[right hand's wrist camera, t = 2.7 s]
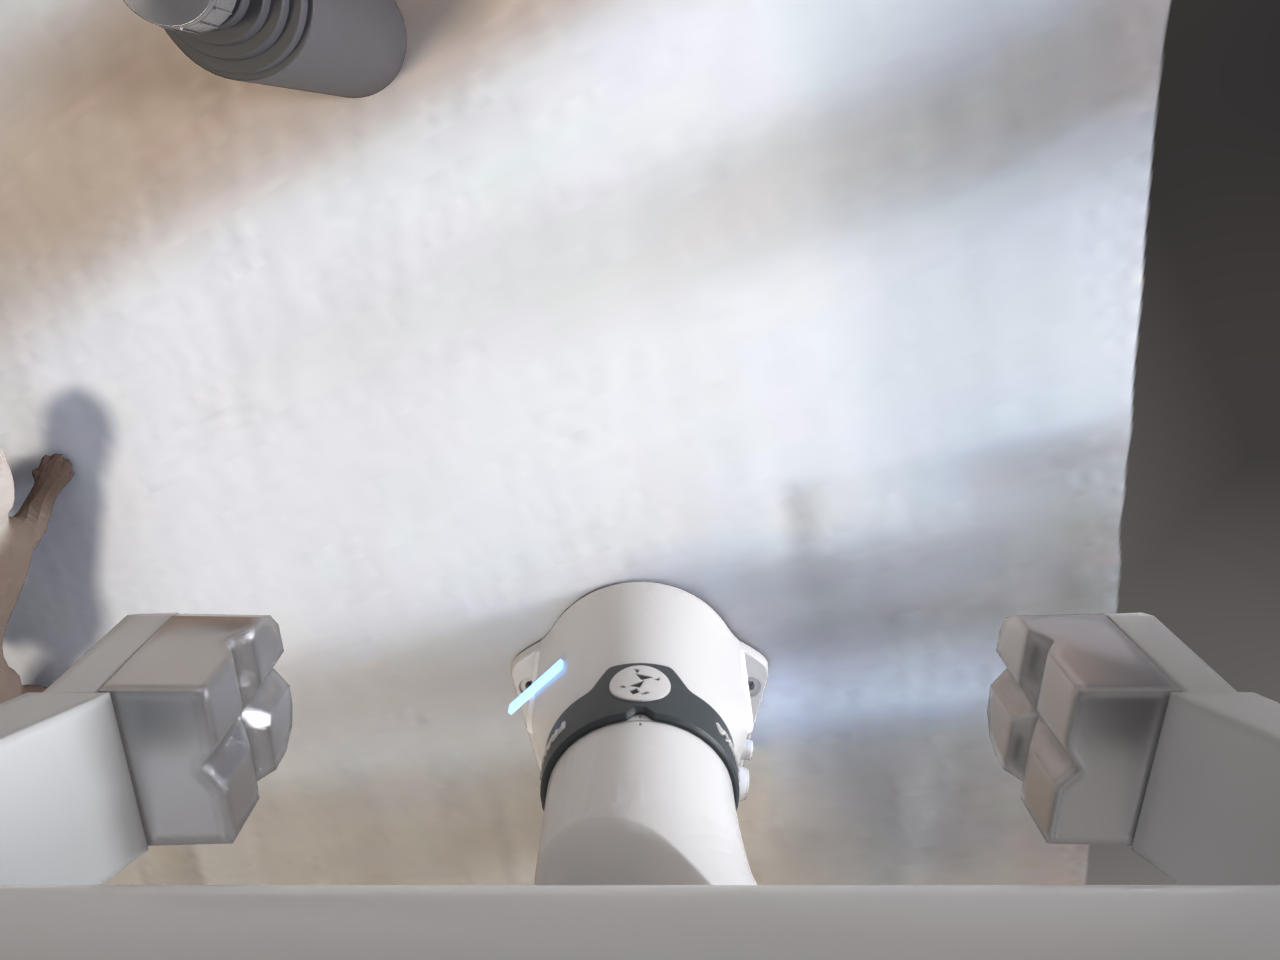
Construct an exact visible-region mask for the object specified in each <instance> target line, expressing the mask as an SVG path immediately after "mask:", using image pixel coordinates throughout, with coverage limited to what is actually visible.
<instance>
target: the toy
mask: <svg viewBox="0 0 1280 960" xmlns="http://www.w3.org/2000/svg"><path fill="white" fill-rule="evenodd" d="M32 474H33V477H34V481H35V483H34V486H33V488H32V489H31V491H30V493H29V495H28V496H27V498H26V500H25V502H24V503H23V505H22V507H21V508H20V510H19V511H18V513H17V514H16V515H15V516H14V517H9V516H8V513H9V511H10V510H11V508H12V507H13V503H14V481H13V477H12V473H11V470H10V467H9V465H8V463H7V460H6V457H5V454H4V452H3V450H2V449H1V448H0V703H2V702H5V701H7V700H10V699H12V698H15V697H17V696H20V695H22V694H24V693H27V692H43V691H44V690H45V689H47V688H44V687H41V686H37V685H24V686H22V684H21V680H20V677H19V675H18V674H17V673H16V672H15V671H14V670H13V669H12V668H10V667H9V666H8V665H7V663H6V661H5V659H4V657H3V649H2V644H3V637H4V633H5V630H6V627H7V624H8V621H9V618H10V616H11V613H12V611H13V608H14V606H15V604H16V601H17V599H18V597H19V594H20V592H21V590H22V587H23V585H24V582H25V579H26V575H27V572H28V568H29V564H30V561H31V556H32V553H33V551H34V549H35V548H36V547H37V545H38V543H39V541H40V540H41V538H42V536H43V535H44V533H45V532H46V530H47V526H48V523H49V519H50V515H51V512H52V508H53V504H54V501H55V499H56V496H57V495H58V493H59V492H60V491H61V490H62V489H63V488H64V486H65V485H66V484H67V483H68V482H69V481H70V480H71V478H72V477H73V475H74V472H73V470H72V464H71V462H70V461H69V460H65V459H63V456H62V454H54V455H52V456H51V457H50V456H47V455H45V456H44V457H43V458H42V460H41V464H40V466H39V468H37V469H35V470H33V471H32Z"/></svg>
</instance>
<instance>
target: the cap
mask: <svg viewBox="0 0 1280 960" xmlns="http://www.w3.org/2000/svg"><path fill="white" fill-rule="evenodd" d="M123 1H124V2H125V3H126V4H127V5H128V6H129V8H130V9H131V10H133V11H134V12H135V13H136V14H137V15H139V16H140V17H142V18H143V19H145V20H147V21H149V22H151V23H154V24H156V25H159V27H161V28H165V29H169V30H174V31H178V32H179V30H180V31H185V32H190V33H194V34H200V33H201V32H206V31H210V30H212V29H214V28H216V29H217V28H218V26H219V25H221V24H222V23H223V22H224V21H225V20H226V19H227V18H228V17H229V15H231V14H232V13H231V12H232V11H233V9H234V6H235V4H236V1H237V0H123Z"/></svg>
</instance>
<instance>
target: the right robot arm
mask: <svg viewBox="0 0 1280 960" xmlns="http://www.w3.org/2000/svg"><path fill="white" fill-rule="evenodd" d="M283 651H284V649H283V644H282V639H281V634H280V630H279V625H278V624H277V622H276V621H275V620H274V619H273V618H272V617H271V616H270V615H225V614H179V613H150V614H133V615H127V616H126V617H125V618H124V619H123V620H121V621H120V622H119V623H118V624H117V625H116V626H115V627H114V628H113V629H112V630H110V631H109V632H108V633H107V634H106V635H105V636H104V637H103V638H102V639H101V640H99V641H98V642H97V643H96V644H95V645H94V646H93V647H92V648H91V649H90V650H88V651H87V652H86V653H85V654H84V655H83V656H82V657H81V658H80V659H79V660H77V661H76V662H75V663H74V664H73V665H72V666H71V667H70V668H69V669H68V670H66V671H65V672H64V673H63V674H62V675H61V676H60V677H59V678H58V679H56V680H55V681H54V682H53V683H52V684H51V685H50V686H49V687H48V688H47V689H45V690H44V691H43V692H27V693H24V694H22V695H20V696H17V697H15V698H12V699H10V700H7V701H5V702H2V703H0V960H1280V703H1278V702H1275V701H1273V700H1270V699H1268V698H1265V697H1263V696H1260V695H1258V694H1256V693H1253V692H1237V691H1236V690H1235V689H1233V688H1232V687H1231V686H1230V685H1229V684H1228V683H1227V682H1226V681H1225V680H1224V679H1223V678H1221V677H1220V676H1219V675H1218V674H1217V673H1216V672H1215V671H1214V670H1213V669H1212V668H1210V667H1209V666H1208V665H1207V664H1206V663H1205V662H1204V661H1203V660H1202V659H1201V658H1199V657H1198V656H1197V655H1196V654H1195V653H1194V652H1193V651H1192V650H1191V649H1190V648H1188V647H1187V646H1186V645H1185V644H1184V643H1183V642H1182V641H1181V640H1180V639H1179V638H1177V637H1176V636H1175V635H1174V634H1173V633H1172V632H1171V631H1170V630H1169V629H1168V628H1166V627H1165V626H1164V625H1163V624H1162V623H1161V622H1160V621H1159V620H1158V619H1157V618H1156V617H1154V616H1152V615H1148V614H1145V613H1120V614H1068V615H1027V616H1012V617H1006V618H1005V621H1004V623H1003V625H1002V627H1001V629H1000V632H999V638H998V643H997V649H996V651H997V653H998V654H999V656H1000V657H1001V659H1002V661H1003V662H1004V664H1005V665H1006V667H1007V669H1006V670H1005V671H1004V672H1003V673H1002V674H1001V675H1000V676H999V677H998V678H997V679H996V680H995V681H994V682H993V683H992V684H991V685H990V693H989V701H988V709H987V714H988V725H989V735H990V739H991V742H992V745H993V748H994V751H995V754H996V756H997V758H998V759H999V761H1000V763H1001V765H1002V767H1003V768H1004V770H1006V771H1007V772H1009V773H1011V774H1012V775H1014V776H1015V777H1017V778H1019V779H1020V780H1022V781H1023V787H1022V793H1021V799H1022V801H1023V803H1024V805H1025V806H1026V808H1027V810H1028V811H1029V813H1030V815H1031V816H1032V818H1033V820H1034V821H1035V823H1036V825H1037V826H1038V828H1039V830H1040V832H1041V833H1042V835H1043V837H1044V838H1045V840H1046V842H1047V843H1052V844H1089V845H1126V846H1132V850H1133V851H1134V852H1136V853H1137V854H1138V855H1140V856H1141V857H1142V858H1144V859H1145V860H1146V861H1148V862H1149V863H1150V864H1152V865H1153V866H1154V867H1156V868H1157V869H1158V870H1160V871H1161V872H1162V873H1164V874H1165V875H1166V876H1168V877H1169V878H1170V879H1172V880H1173V881H1174V882H1176V883H1177V884H1178V885H757V883H756V881H755V879H754V877H753V875H752V873H751V870H750V867H749V864H748V860H747V857H746V853H745V849H744V846H743V842H742V838H741V833H740V829H739V824H738V818H737V813H736V811H737V808H738V802H739V801H743V800H746V798H747V794H748V788H749V772H748V769H746V768H744V767H742V765H743V761H744V760H751V758H752V754H753V742H752V741H751V740H750V737H751V734H752V730H753V727H754V723H755V720H756V716H757V713H758V710H759V706H760V703H761V699H762V696H763V692H764V689H765V685H766V682H767V679H768V663H767V660H766V659H765V658H764V656H763V655H761V654H760V653H759V652H757V651H756V650H754V649H753V648H751V647H749V646H748V645H746V644H744V643H742V642H741V641H739V640H738V639H737V638H736V637H735V636H734V635H733V634H732V633H731V631H730V630H729V629H728V627H727V626H726V624H725V623H724V622H723V620H722V619H721V618H720V616H719V615H718V614H717V613H716V612H715V611H714V610H713V609H712V608H711V607H710V606H709V605H707V604H706V603H705V602H703V601H702V600H701V599H699V598H697V597H696V596H694V595H692V594H690V593H688V592H686V591H684V590H682V589H679V588H676V587H673V586H670V585H665V584H661V583H655V582H626V583H619V584H615V585H610V586H607V587H604V588H601V589H599V590H596V591H594V592H592V593H590V594H588V595H586V596H584V597H583V598H581V599H580V600H578V601H577V602H575V603H574V604H573V605H571V606H570V607H569V608H568V609H567V610H566V611H565V612H564V613H563V614H562V615H561V616H560V618H559V619H558V620H557V622H556V623H555V624H554V626H553V627H552V629H551V630H550V631H549V633H548V634H547V635H546V636H545V637H544V638H543V639H542V640H541V641H539V642H538V643H536V644H534V645H532V646H531V647H529V648H527V649H526V650H524V651H523V652H521V653H520V654H519V655H518V656H517V657H516V658H515V659H514V660H513V663H512V678H513V682H514V685H515V689H516V692H517V696H518V697H517V698H516V699H515V700H514V701H513V702H512V703H511V704H510V706H509V710H508V713H510V714H511V715H512V714H513V713H514V712H515V711H516V710H517V709H518V708H519V707H521V709H522V713H523V716H524V720H525V723H526V727H527V730H528V734H529V737H530V740H531V744H532V747H533V751H534V754H535V758H536V761H537V765H538V768H539V771H540V779H541V787H540V788H541V802H542V808H543V811H544V815H543V822H542V829H541V836H540V843H539V850H538V857H537V864H536V872H535V885H102V884H103V883H105V882H106V881H107V880H109V879H110V878H111V877H113V876H114V875H115V874H117V873H118V872H119V871H121V870H122V869H123V868H125V867H126V866H127V865H129V864H130V863H131V862H133V861H134V860H135V859H137V858H138V857H139V856H141V855H142V854H143V853H145V852H146V851H147V850H148V846H154V845H189V844H225V843H233V842H234V840H235V838H236V837H237V835H238V833H239V832H240V830H241V828H242V827H243V825H244V823H245V821H246V820H247V818H248V816H249V815H250V813H251V811H252V810H253V808H254V806H255V805H256V803H257V801H258V799H259V793H258V787H257V781H258V780H260V779H261V778H263V777H265V776H266V775H268V774H269V773H271V772H273V771H274V770H276V768H277V767H278V765H279V763H280V761H281V759H282V757H283V756H284V754H285V752H286V749H287V745H288V741H289V736H290V732H291V728H292V699H291V692H290V685H289V684H288V683H287V682H286V681H285V680H284V679H283V678H282V677H281V676H280V675H279V674H278V673H277V672H276V671H275V670H274V669H273V667H274V665H275V664H276V662H277V661H278V659H279V658H280V656H281V654H282V653H283ZM528 681H532V685H529V684H528V683H527V682H528ZM748 681H752V682H753V683H752V684H751V685H748Z"/></svg>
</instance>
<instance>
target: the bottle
mask: <svg viewBox="0 0 1280 960" xmlns="http://www.w3.org/2000/svg"><path fill="white" fill-rule="evenodd" d="M231 13H232V14H231V15H229V17H228V18H227V19H226V20H225V21H224V22H223V23H222V24H221V25H219V26H218V28H217V29H216V28H214V29H212V30H210V31H206V32H201V33H200V34H194V33H190V32H185V31H180V30H179V32H178V31H174V30H169V29H165V28H164V29H165V31H166V32H167V34H168V35H169V36H170V38H171V39H172V40H173V41H174V43H175V44H176V45H177V46H178V47H179V48H180V49H181V50H182V51H183V52H184V53H185V54H186V56H188V57H189V58H190V59H191V60H192V61H194V62H195V63H196V64H198V65H199V66H201V67H202V68H204V69H205V70H207V71H209V72H211V73H213V74H215V75H218V76H221V77H224V78H227V79H232V80H237V81H244V82H250V83H257V84H263V85H270V86H276V87H283V88H289V89H296V90H302V91H309V92H315V93H322V94H328V95H335V96H341V97H348V98H361V97H366V96H370V95H373V94H375V93H377V92H379V91H381V90H382V89H384V88H385V87H386V86H388V85H389V84H390V83H391V81H392V80H393V79H394V78H395V76H396V75H397V74H398V72H399V70H400V68H401V66H402V63H403V60H404V56H405V51H406V31H405V25H404V21H403V17H402V15H401V12H400V10H399V8H398V6H397V4H396V2H395V1H394V0H237V1H236V4H235V6H234V9H233V11H232V12H231Z"/></svg>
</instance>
